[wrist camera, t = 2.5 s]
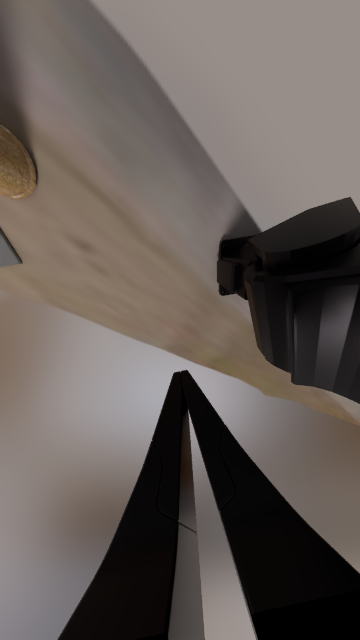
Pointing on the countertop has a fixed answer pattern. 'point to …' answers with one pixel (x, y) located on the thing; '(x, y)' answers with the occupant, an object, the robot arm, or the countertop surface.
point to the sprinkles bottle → (15, 167)
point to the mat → (7, 252)
